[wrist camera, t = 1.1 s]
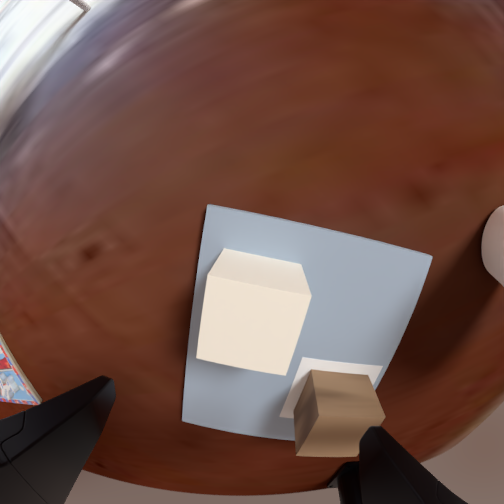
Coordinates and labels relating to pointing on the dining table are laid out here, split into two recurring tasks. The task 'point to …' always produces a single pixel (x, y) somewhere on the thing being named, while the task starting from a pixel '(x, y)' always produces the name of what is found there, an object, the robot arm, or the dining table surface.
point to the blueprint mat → (316, 320)
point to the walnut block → (335, 414)
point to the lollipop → (82, 4)
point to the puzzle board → (14, 380)
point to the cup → (494, 245)
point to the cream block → (252, 312)
